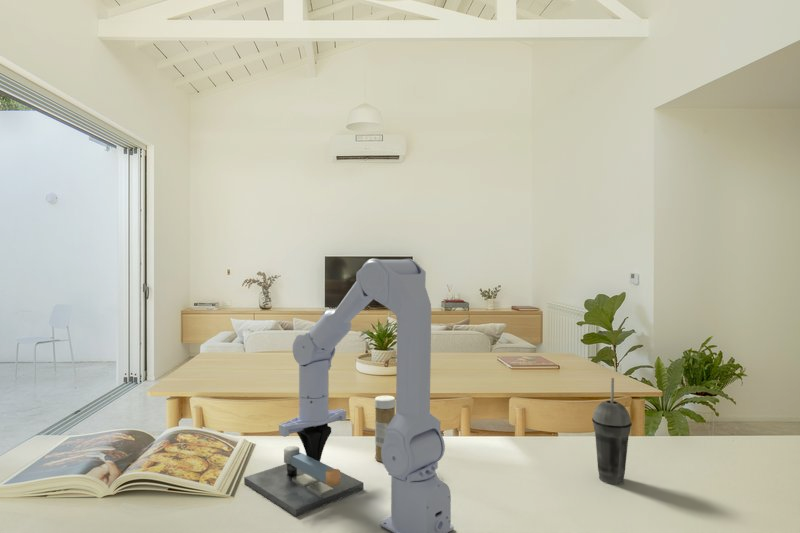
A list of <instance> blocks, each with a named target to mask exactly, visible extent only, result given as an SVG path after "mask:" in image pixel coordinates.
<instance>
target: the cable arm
mask: <svg viewBox="0 0 800 533" xmlns="http://www.w3.org/2000/svg"><path fill="white" fill-rule="evenodd" d="M283 463H284V464H291V465H292V466H294V467H296V468H298V469H300V470H302V471H304V472H306V473H308V474H310V475H311V476H313V477H315V478H317V479H319V480H321V481H323V482H325V483H326V485H328V486H336V485H339V484H340V472H341V470H340V469H339V468H334V467H331V466H329V465H327V464H326V465H325V463H323V462H322V461H320V462H319V461H317V460H315V459H313V458H311V457H309V456H307V455H306V453H302V452H300V447H299V446H295V445H292V446H286V447H285V448H284V449H283Z"/></svg>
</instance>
